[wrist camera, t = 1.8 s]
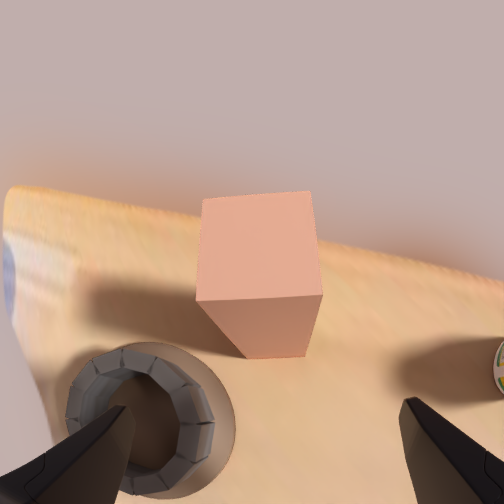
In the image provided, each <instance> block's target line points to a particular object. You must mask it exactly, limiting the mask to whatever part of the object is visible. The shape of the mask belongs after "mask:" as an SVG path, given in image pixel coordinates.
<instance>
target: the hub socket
mask: <svg viewBox="0 0 504 504" xmlns="http://www.w3.org/2000/svg"><path fill="white" fill-rule="evenodd" d="M92 359H93V361H92V360H90V361H89V362H88V363H87V365H86V366H85V367H84V368H83V370H82V371H81V372H80V373H79V375H78V376H77V377H76V379H75V380H74V381H73V382H72V384H73V386H71V387H70V392H69V398H68V403H67V409H66V416H65V417H67V418H69V419H67V420H66V424H67V427H68V431H69V435H70V436H71V435H72V434H74V433H75V432H77V431H78V430H79V429H81V428H82V427H84V426H85V425H87V424H88V423H90V422H91V421H93V420H94V419H96V418H97V417H98V416H100V415H101V414H103V413H104V412H106V411H107V410H108V409H110V408H111V407H113V406H114V405H116V404H121V405H127V406H128V407H129V409H130V411H131V413H132V415H133V417H134V420H135V423H136V427H135V432H134V437H133V441H132V446H131V451H130V455H129V460H128V463H127V467H126V470H125V473H124V476H123V479H122V482H121V485H120V488H119V490H120V491H123V492H125V493H128V494H130V495H134V494H135V496H137V495H141V496H145V497H148V498H154V499H175V498H181V497H185V496H188V495H191V494H193V493H195V492H197V491H199V490H201V489H202V488H204V487H205V486H207V485H208V484H209V483H210V482H211V481H212V480H213V479H215V478H216V477H217V476H218V475H219V473H220V472H221V471H222V470H223V468H224V467H225V465H226V463H227V462H228V460H229V457H230V455H231V452H232V449H233V445H234V441H235V431H236V429H235V416H234V411H233V407H232V404H231V401H230V398H229V396H228V394H227V392H226V390H225V388H224V386H223V385H222V383H221V381H220V380H219V378H218V377H217V376H216V375H215V374H214V372H213V371H212V370H211V369H210V368H209V367H208V366H207V365H205V364H204V363H203V362H202V361H200V360H199V359H198V358H196V357H194V356H193V355H191V354H189V353H187V352H185V351H184V350H182V349H179V348H177V347H174V346H171V345H167V344H163V343H155V342H144V343H137V344H132V345H129V346H126V347H123V348H120V349H117V350H115V351H112V352H109V353H106V354H103V355H101V356H98V357H95V358H92Z"/></svg>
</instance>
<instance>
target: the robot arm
mask: <svg viewBox="0 0 504 504" xmlns="http://www.w3.org/2000/svg"><path fill="white" fill-rule="evenodd" d="M399 425H400V430H401V436H402V441H403V447H404V453H405V459H406V463H407V466H408V470H409V473H410V477H411V480H412V484H413V487H414V491H415V495H416V498H417V502H418V504H504V462H503V461H502V460H500V459H499V458H497V457H496V456H494V455H493V454H492V453H490V452H489V451H486V449H485V448H484V447H482V446H481V445H479V444H478V443H477V442H476V441H474V440H473V439H472V438H470V437H469V436H468V435H466V434H465V433H464V432H462V431H461V430H460V429H458V428H457V427H456V426H454V425H453V424H452V423H450V422H449V421H448V420H446V419H445V418H444V417H442V416H441V415H440V414H438V413H437V412H436V411H435V410H433V409H432V408H431V407H429V406H428V405H427V404H425V403H424V402H423V401H421V400H420V399H419V398H417V397H410V398H406V399H404V401H403V403H402V407H401V410H400V414H399ZM135 427H136V423H135V420H134V417H133V415H132V413H131V411H130V409H129V407H128V406H127V405H121V404H116V405H114V406H113V407H111V408H110V409H108V410H107V411H106V412H104V413H103V414H101V415H100V416H98V417H97V418H96V419H94V420H93V421H91V422H90V423H88V424H87V425H85V426H84V427H82V428H81V429H79V430H78V431H77V432H75V433H74V434H72V435H71V436H69V437H68V438H66V439H65V440H63V441H62V442H60V443H59V444H57V445H56V446H54V447H53V448H51V449H49V450H48V451H46V453H43V454H42V455H40V456H39V457H37V458H35V459H34V460H32V461H30V462H29V463H27V464H25V465H23V466H21V467H20V468H18V469H16V470H13V471H11V472H9V473H8V474H5V475H3V476H1V477H0V504H114V503H115V500H116V497H117V494H118V491H119V488H120V485H121V482H122V479H123V476H124V473H125V470H126V467H127V463H128V460H129V455H130V451H131V446H132V441H133V437H134V432H135Z"/></svg>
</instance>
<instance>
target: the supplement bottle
mask: <svg viewBox="0 0 504 504" xmlns="http://www.w3.org/2000/svg"><path fill="white" fill-rule="evenodd" d="M493 372H494V378H495V382H496V385H497V386H498V388H499V389H500V391H501V392H502V393H503V394H504V341H503V342H502V344H501V345H500V346H499V348H498V350H497V352H496V355H495V359H494V366H493Z"/></svg>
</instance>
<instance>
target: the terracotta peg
mask: <svg viewBox="0 0 504 504" xmlns="http://www.w3.org/2000/svg"><path fill="white" fill-rule="evenodd" d="M322 296H323V290H322V280H321V271H320V262H319V253H318V245H317V237H316V229H315V221H314V214H313V207H312V200H311V193H310V191H299V192H283V193H269V194H255V195H242V196H232V197H220V198H209V199H203V206H202V218H201V230H200V242H199V256H198V271H197V287H196V302H197V303H198V304H199V305H200V307H201V308H202V309H203V310H204V311H205V312H206V313H207V315H208V316H209V317H210V318H211V319H212V320H213V321H214V323H215V324H216V325H217V326H218V327H219V328H220V329H221V331H222V332H223V333H224V334H225V335H226V336H227V337H228V338H229V339H230V341H231V342H232V343H233V344H234V345H235V346H236V347H237V348H238V349H239V350H240V352H241V353H242V354H243V355H244V356H245V357H246V358H247V359H268V358H289V357H305V355H306V351H307V348H308V345H309V341H310V338H311V335H312V331H313V328H314V325H315V321H316V318H317V314H318V311H319V307H320V303H321V300H322Z"/></svg>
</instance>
